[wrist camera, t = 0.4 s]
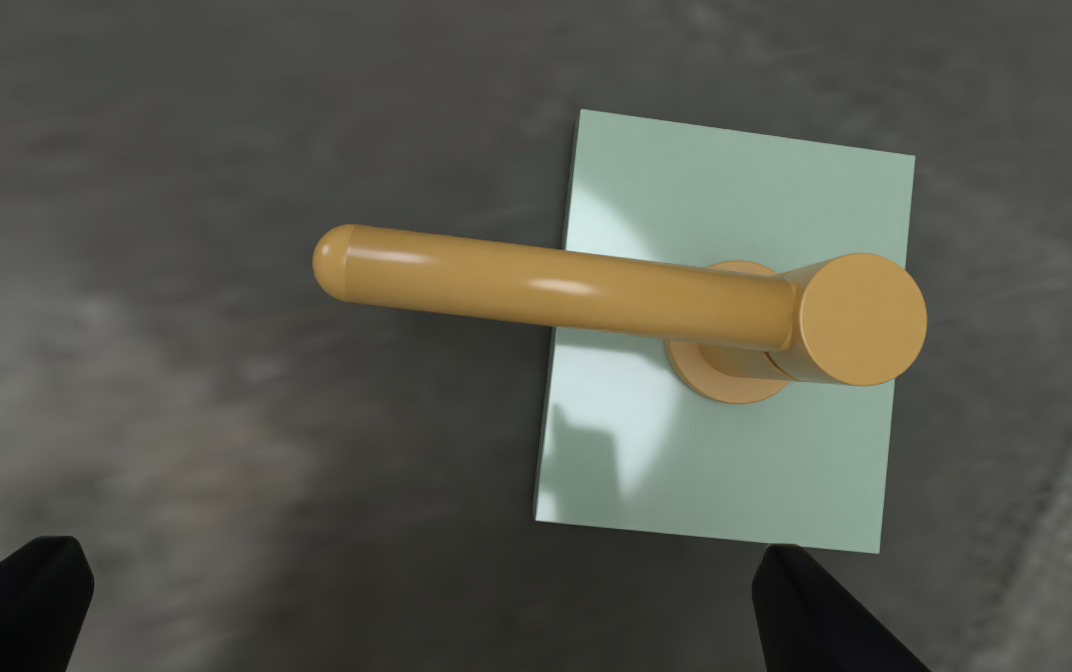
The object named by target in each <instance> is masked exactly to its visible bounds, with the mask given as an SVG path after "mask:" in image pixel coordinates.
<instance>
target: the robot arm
mask: <svg viewBox="0 0 1072 672" xmlns="http://www.w3.org/2000/svg"><path fill="white" fill-rule="evenodd" d="M93 592H94V577H93V574H92V571H91V569H90V566H89V564H88V562H87V559H86V557H85V555H84V552H83V550H82V548H81V545H80V543H79V541H78V540H77V539H75V538H74V537H72V536H40V537H37V538H35V539H33V540H31V541H30V542H28V543H27V544H25V545H24V546H23V547H21V548H20V549H18V550H17V551H15V552H14V553H13V554H11V555H10V556H8V557H7V558H5V559H4V560H3V561H1V562H0V672H65V671H66V669H67V666H68V663H69V660H70V658H71V655H72V652H73V649H74V647H75V644H76V641H77V638H78V635H79V633H80V630H81V627H82V624H83V622H84V619H85V616H86V613H87V610H88V608H89V605H90V602H91V599H92V596H93ZM752 599H753V605H754V609H755V614H756V619H757V624H758V629H759V634H760V639H761V644H762V649H763V654H764V659H765V664H766V668H767V672H932V671H931V670H929V669H928V668H927V667H926V666H925V665H924V664H923V663H922V662H921V661H920V660H919V659H918V658H917V657H916V656H915V655H914V654H913V653H912V652H911V651H910V650H909V649H908V648H907V647H905V646H904V645H903V644H902V643H901V642H900V641H899V640H898V639H897V638H896V637H895V636H894V635H893V634H892V633H891V632H890V631H889V630H888V629H887V628H886V627H885V626H884V625H883V624H881V623H880V622H879V621H878V620H877V619H876V618H875V617H874V616H873V615H872V614H871V613H870V612H869V611H868V610H867V609H866V608H865V607H864V606H863V605H862V604H861V603H860V602H859V601H858V600H856V599H855V598H854V597H853V596H852V595H851V594H850V593H849V592H848V591H847V590H846V589H845V588H844V587H843V586H842V585H841V584H840V583H839V582H838V581H837V580H836V579H835V578H834V577H832V576H831V575H830V574H829V573H828V572H827V571H826V570H825V569H824V568H823V567H822V566H821V565H820V564H819V563H818V562H817V561H816V560H815V559H814V558H813V557H812V556H811V555H810V554H809V553H807V552H806V551H805V550H804V549H803V548H802V547H800V546H799V545H797V544H792V543H771V544H768V545H767V546H766V547H765V549H764V551H763V554H762V557H761V559H760V562H759V565H758V568H757V570H756V573H755V576H754V579H753V582H752Z"/></svg>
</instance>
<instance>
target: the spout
mask: <svg viewBox="0 0 1072 672" xmlns="http://www.w3.org/2000/svg"><path fill="white" fill-rule="evenodd" d="M312 263H313V272H314V275H315V277H316V280H317V282H318V283H319V285H320V286H321V288H322V289H323V290H324V291H325V292H326V293H327V294H329V295H330V296H332V297H333V298H335V299H337V300H340V301H343V302H348V303H355V304H362V305H372V306H381V307H389V308H398V309H407V310H415V311H424V312H432V313H441V314H449V315H458V316H467V317H475V318H484V319H492V320H501V321H509V322H518V323H526V324H535V325H544V326H552V327H561V328H569V329H578V330H586V331H595V332H604V333H612V334H621V335H629V336H638V337H646V338H655V339H664V340H672V341H681V342H689V343H698V344H706V345H715V346H723V347H732V348H741V349H749V350H758V351H766V352H768V353H769V355H770V356H771V358H772V359H773V361H774V362H775V363H776V364H777V365H778V366H779V367H780V368H781V369H782V370H783V371H784V372H786V373H787V374H789V375H790V376H792V377H794V378H796V379H799V380H802V381H805V382H810V383H821V384H834V385H848V386H864V387H866V386H875V385H879V384H883V383H885V382H888V381H890V380H892V379H894V378H896V377H897V376H899V375H900V374H901V373H903V372H904V371H905V370H906V369H907V368H908V367H909V366H910V365H911V364H912V363H913V361H914V360H915V359H916V357H917V356H918V354H919V352H920V350H921V348H922V346H923V343H924V340H925V336H926V330H927V311H926V306H925V302H924V299H923V296H922V293H921V291H920V289H919V287H918V286H917V284H916V283H915V281H914V280H913V278H912V277H911V276H910V275H909V274H908V273H907V272H906V271H905V270H904V269H903V268H902V267H901V266H899V265H898V264H896V263H895V262H893V261H891V260H889V259H887V258H885V257H882V256H879V255H875V254H870V253H852V254H847V255H843V256H839V257H836V258H832V259H829V260H825V261H822V262H818V263H815V264H811V265H808V266H804V267H801V268H798V269H795V270H793V271H791V272H789V273H788V274H786V275H785V276H783V277H776V276H768V275H760V274H752V273H744V272H736V271H728V270H720V269H712V268H704V267H696V266H688V265H680V264H672V263H664V262H656V261H648V260H640V259H632V258H624V257H616V256H608V255H600V254H592V253H584V252H576V251H568V250H560V249H552V248H544V247H536V246H528V245H520V244H512V243H504V242H496V241H488V240H480V239H472V238H464V237H456V236H448V235H440V234H432V233H424V232H416V231H408V230H400V229H392V228H384V227H376V226H368V225H360V224H346V225H341V226H338V227H336V228H333V229H331V230H330V231H328V232H327V233H326V234H325V235H324V236H323V237H322V238H321V239H320V240H319V242H318V244H317V245H316V247H315V250H314V254H313V260H312Z"/></svg>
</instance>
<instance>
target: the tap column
mask: <svg viewBox="0 0 1072 672" xmlns="http://www.w3.org/2000/svg"><path fill="white" fill-rule="evenodd" d="M706 268H712V269H720V270H728V271H736V272H744V273H752V274H760V275H768V276H776V277H783V276H785V275H786V274H788V273H789V272H791V271H793V270H790V271H787V272H783V273H780V274H778V273H777V272H776V271H774V270H772V269H770V268H768V267H767V266H764V265H761V264H759V263H755V262H751V261H743V260H730V261H724V262H720V263H717V264H713V265H711V266H708V267H706ZM794 270H795V269H794ZM663 341H664V346H665V351H666V354H667V357H668V360H669V362H670V364H671V366H672V368H673V369H674V371H675V373H676V374H677V375H678V377H679V378H680V379H681V380H682V381H683V382H684V383H685V384H686V385H687V386H688V387H689V388H690V389H692V390H693V391H695V392H696V393H698V394H699V395H701V396H703V397H705V398H708V399H711V400H713V401H718V402H722V403H728V404H750V403H756V402H759V401H762V400H765V399H767V398H769V397H771V396H773V395H775V394H776V393H778V392H779V391H781V390H782V389H783V388H784V387H785V386H786V385H788V384H789V382H790V381H795V382H805V381H802V380H799V379H796V378H794V377H792V376H790V375H789V374H787V373H786V372H784V371H783V370H782V369H781V368H780V367H779V366H778V365H777V364H776V363H775V362H774V361H773V359H772V358H771V356H770V355H769V353H768V352H766V351H758V350H749V349H741V348H732V347H723V346H715V345H706V344H698V343H689V342H681V341H672V340H664V339H663Z"/></svg>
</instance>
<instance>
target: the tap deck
mask: <svg viewBox="0 0 1072 672" xmlns="http://www.w3.org/2000/svg"><path fill="white" fill-rule="evenodd" d="M914 165H915V156H912V155H905V154H898V153H891V152H884V151H877V150H870V149H862V148H855V147H848V146H841V145H834V144H827V143H820V142H813V141H805V140H798V139H791V138H784V137H777V136H770V135H763V134H756V133H748V132H741V131H734V130H727V129H720V128H713V127H706V126H698V125H691V124H684V123H677V122H670V121H663V120H656V119H649V118H641V117H634V116H627V115H620V114H613V113H606V112H599V111H592V110H584V109H581V110H580V113H579V115H578V118H577V120H576V123H575V129H574V138H573V147H572V156H571V164H570V173H569V182H568V191H567V200H566V209H565V218H564V227H563V236H562V245H561V250H568V251H576V252H584V253H592V254H600V255H608V256H616V257H624V258H632V259H640V260H648V261H656V262H664V263H672V264H680V265H688V266H696V267H704V268H706V267H708V266H711V265H713V264H717V263H720V262H724V261H730V260H743V261H751V262H755V263H759V264H761V265H764V266H767V267H768V268H770V269H772V270H774V271H776V272H777V273H778V274H780V273H783V272H787V271H790V270H794V269H798V268H801V267H804V266H808V265H811V264H815V263H818V262H822V261H825V260H829V259H832V258H836V257H839V256H843V255H847V254H852V253H870V254H875V255H879V256H882V257H885V258H887V259H889V260H891V261H893V262H895V263H896V264H898V265H899V266H901V267H902V268H903V269H904V270H905V264H906V253H907V242H908V231H909V220H910V209H911V198H912V187H913V176H914ZM894 385H895V378H894V379H892V380H890V381H888V382H885V383H883V384H879V385H875V386H866V387H864V386H848V385H834V384H821V383H810V382H795V381H790V382H789V384H788V385H786V386H785V387H784V388H783V389H782V390H781V391H779V392H778V393H776V394H775V395H773V396H771V397H769V398H767V399H765V400H762V401H759V402H756V403H750V404H728V403H722V402H718V401H713V400H711V399H708V398H705V397H703V396H701V395H699V394H698V393H696V392H695V391H693V390H692V389H690V388H689V387H688V386H687V385H686V384H685V383H684V382H683V381H682V380H681V379H680V378H679V377H678V375H677V374H676V373H675V371H674V369H673V368H672V366H671V364H670V362H669V360H668V357H667V354H666V351H665V346H664V341H663V339H655V338H646V337H638V336H629V335H621V334H612V333H604V332H595V331H586V330H578V329H569V328H561V327H552V335H551V344H550V353H549V362H548V370H547V379H546V388H545V397H544V406H543V415H542V424H541V433H540V442H539V451H538V460H537V469H536V478H535V487H534V496H533V505H532V512H533V515H534V518H535V521H540V522H551V523H561V524H572V525H582V526H593V527H603V528H613V529H624V530H634V531H645V532H655V533H666V534H676V535H686V536H697V537H707V538H718V539H728V540H739V541H749V542H759V543H770V544H771V543H792V544H797V545H799V546H801V547H812V548H822V549H832V550H843V551H853V552H864V553H874V554H879V549H880V538H881V527H882V516H883V505H884V494H885V483H886V472H887V461H888V450H889V439H890V428H891V417H892V407H893V396H894Z"/></svg>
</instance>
